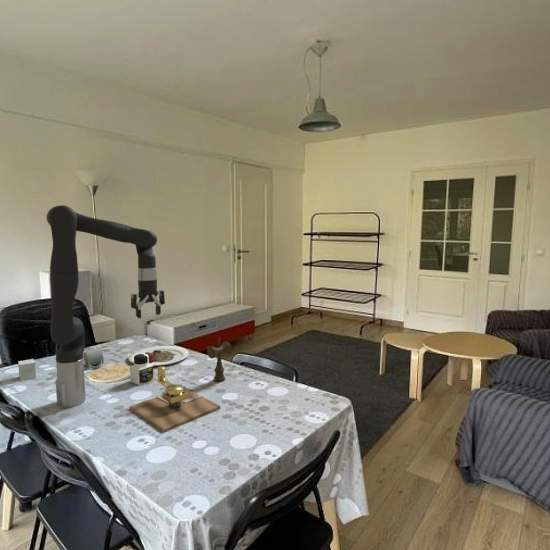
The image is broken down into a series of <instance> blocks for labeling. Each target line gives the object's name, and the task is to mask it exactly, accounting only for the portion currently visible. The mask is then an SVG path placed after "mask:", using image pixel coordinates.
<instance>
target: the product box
mask: <svg viewBox="0 0 550 550" xmlns="http://www.w3.org/2000/svg"><path fill="white" fill-rule="evenodd" d="M17 362H18V363H17V364H18V376H19V380H20V382H24V381H27V380H33V379H36V378H37V369H36V368H37V367H36V362H35V359H34V358H30V359H25V360H20V361H19V360H18V361H17Z"/></svg>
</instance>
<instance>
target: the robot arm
mask: <svg viewBox="0 0 550 550" xmlns="http://www.w3.org/2000/svg"><path fill="white" fill-rule="evenodd" d="M46 221H47V223H48V225H49V226H50V230H51V238H52V251H51V256H50V262H49V264H50V266H49V278H50V279H49V280H50V281H49V282H50V297H51V298H50V299H51V301H50V302H51V315H50V330H49V332H50V337H51V340H52V342H54V343H55V344H56V345H58V346H59V349H58V350H57V351H56V354H55V363H56V365H55V367H56V379H55V390H56V393H55V394H56V395H55V396H56V404H58V406H60V407H61V408H62V409H64V408H70V407H76V406H79V405H82V404H83V403H84V402H85V401H86V383H85V381H86V380H85V369H84V368H85V363H84V358H83V354H84V352H85V344H86V343H85V341H86V339H85V337H86V335H85V327H84V323H83V321H82V320H81V319H80V318H78V317H75V316H73V315H74V314H73V313H74V312H73V310H74V309H73V308H74V302H75V300H76V296H77V292H78V289H79V263H78V254H77V248H76V247H77V245H76V239H77V238H76V237H77V232H79V233H80V232H81V233H85V234H90V235H94V236H96V237H97V236H98V237H100V238H104V239H106V240H107V239H108V240H112V241H115V242H120V243H126V244H127V243H128V244H133V245H135V248H136V249H135V250H136V254H137V289H138V293H131V294H130V308H132V309H134V310H135V317H136V318H138V319H142V307H143V306H144V305H145V304H149V303H154V305H155V315H156V316H160V315H161V312H162V309H161V308H162V307H161V306H163V305H165V304H166V302H165V291H164V290H161V289H160V290H158V278H157V277H158V276H157V275H158V274H157V265H156V264H157V263H156V262H157V261H156V260H157V259H156V255H155V254H154V251H153V250H154V249H153V247H154V246H156V245H157V244H158V243H157V242H158V238H157V237H158V236H157V235H156V233H155V232H154V231H152V230H148V229H143V228H138V227H132V226H131V225H127V224H124V223H119V222H115V221H111V220H107V219H106V220H105V219H99V218H94V217H90V216H88V215H84V214H81V213H78V212H76V211H74V209H73V208H72V207H70V206H67V205H63V204H62V205H55V206H52V207H51V208H50V209H49V210H48V212H47V214H46ZM157 296H158V298H157ZM138 298H139V299H138ZM137 299H138V300H137Z"/></svg>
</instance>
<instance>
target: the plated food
mask: <svg viewBox="0 0 550 550" xmlns="http://www.w3.org/2000/svg"><path fill="white" fill-rule="evenodd" d="M137 354H147V355H148V359H149V363H148V364H151V365H153V367H160V366H165V365H172V364H175V363H178V362H181V361H183V360H185V359H186V358H188V356H189V351H188V350H187V349H186V348H184V347H180V346H177V345H176V346H175V345H158V346H149V347H144V348H141V349H138V350H135V351H133V352H131V353H130V354H129V355H128V357H127V360H128V361H129V362H130V363H131V364H133V365H134V356H135V355H137Z"/></svg>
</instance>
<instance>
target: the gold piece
mask: <svg viewBox="0 0 550 550" xmlns="http://www.w3.org/2000/svg"><path fill="white" fill-rule="evenodd" d="M157 380H158V384H160V385H161V386H163V387H164V388H165V391H162V392H161V395H162V398H163V399H165V400H166V401H168V402H169V403H171V404H172V403H175V402H178V401H181V400H184V399H187V398H188V393H187V392H185V391H184V390H186V389H187V388H186V386H184V385H182V384H179V383H178V384H177V383H176V384H175V383H172V382H170V381H168V380H167V379H166V367H165V365H160V366H157ZM170 396H174V397H170Z"/></svg>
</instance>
